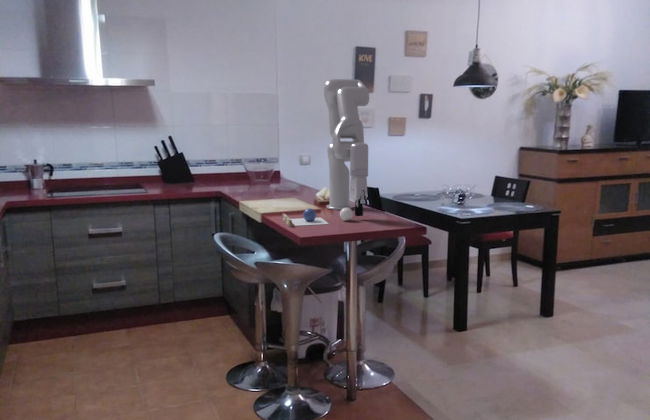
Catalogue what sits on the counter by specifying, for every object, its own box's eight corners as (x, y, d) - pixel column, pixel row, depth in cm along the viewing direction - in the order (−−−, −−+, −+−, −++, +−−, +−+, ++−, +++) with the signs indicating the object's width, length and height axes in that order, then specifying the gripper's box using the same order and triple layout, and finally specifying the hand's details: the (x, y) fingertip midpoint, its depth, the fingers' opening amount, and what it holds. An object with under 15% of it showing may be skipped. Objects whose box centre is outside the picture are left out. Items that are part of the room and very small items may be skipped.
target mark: (288, 219, 228) (288, 219, 227) (320, 217, 231) (320, 217, 231) (295, 226, 214) (295, 225, 214) (329, 224, 218) (329, 223, 218)
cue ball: (346, 203, 225) (351, 213, 228) (335, 210, 225) (340, 220, 227) (352, 208, 221) (356, 218, 224) (341, 215, 220) (345, 225, 223)
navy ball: (310, 204, 225) (317, 215, 226) (299, 212, 225) (307, 222, 226) (312, 207, 219) (319, 217, 221) (301, 214, 219) (308, 225, 221)
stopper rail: (282, 219, 228) (282, 213, 227) (284, 219, 228) (284, 213, 228) (289, 226, 213) (289, 220, 212) (292, 226, 213) (291, 220, 212)
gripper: (345, 171, 231) (345, 213, 234) (356, 174, 216) (355, 219, 220) (362, 170, 232) (361, 212, 236) (373, 174, 218) (373, 218, 221)
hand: (358, 215), depth 228 cm, fingers closed
